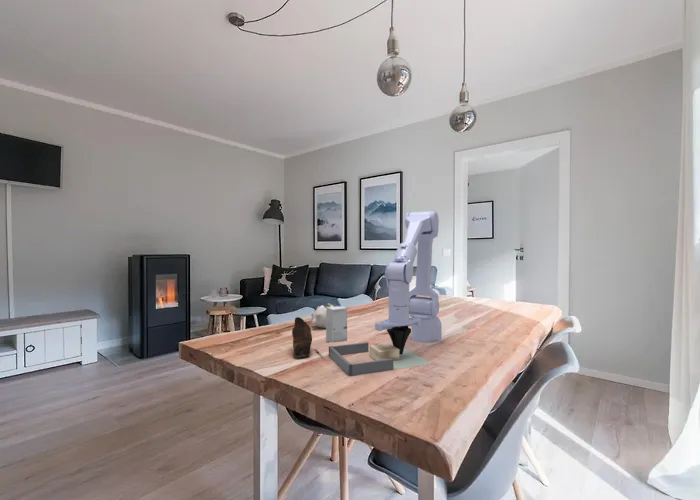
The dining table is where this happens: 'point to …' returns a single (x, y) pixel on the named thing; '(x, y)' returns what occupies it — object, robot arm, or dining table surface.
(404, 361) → the far plate
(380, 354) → the birch tile
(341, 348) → the box
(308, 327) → the decorative rock
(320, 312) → the cat figurine
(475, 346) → the dining table surface
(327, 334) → the skincare box
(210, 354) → the dining table surface
